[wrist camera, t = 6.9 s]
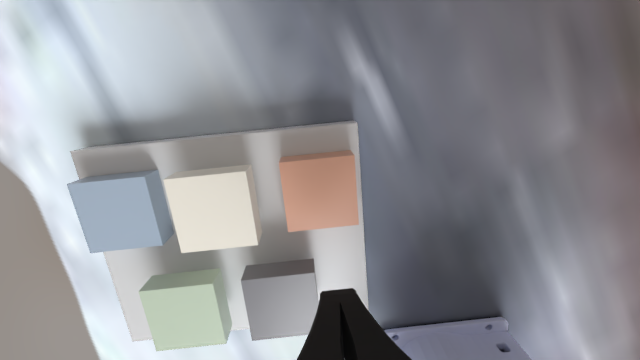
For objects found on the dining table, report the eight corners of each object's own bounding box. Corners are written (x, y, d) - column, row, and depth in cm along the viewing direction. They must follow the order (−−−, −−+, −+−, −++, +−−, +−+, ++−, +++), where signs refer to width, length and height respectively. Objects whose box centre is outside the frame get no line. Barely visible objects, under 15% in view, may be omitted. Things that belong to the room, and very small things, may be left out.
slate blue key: (158, 169, 17) (144, 176, 16) (173, 233, 18) (162, 245, 17) (87, 176, 17) (66, 184, 16) (107, 240, 18) (90, 253, 17)
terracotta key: (350, 150, 17) (354, 155, 16) (354, 214, 18) (359, 224, 17) (280, 157, 17) (278, 162, 16) (289, 221, 18) (288, 232, 17)
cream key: (251, 164, 16) (245, 171, 15) (262, 232, 17) (258, 245, 16) (176, 171, 16) (163, 179, 15) (191, 239, 17) (181, 253, 16)
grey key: (313, 258, 18) (314, 272, 16) (320, 314, 19) (321, 333, 17) (246, 265, 18) (240, 280, 16) (256, 321, 19) (252, 340, 17)
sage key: (220, 268, 18) (213, 283, 16) (232, 324, 19) (226, 343, 17) (152, 275, 18) (138, 291, 16) (168, 331, 19) (156, 351, 17)
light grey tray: (353, 120, 18) (357, 122, 17) (364, 300, 22) (368, 315, 21) (88, 146, 18) (70, 151, 17) (144, 325, 22) (132, 341, 20)
